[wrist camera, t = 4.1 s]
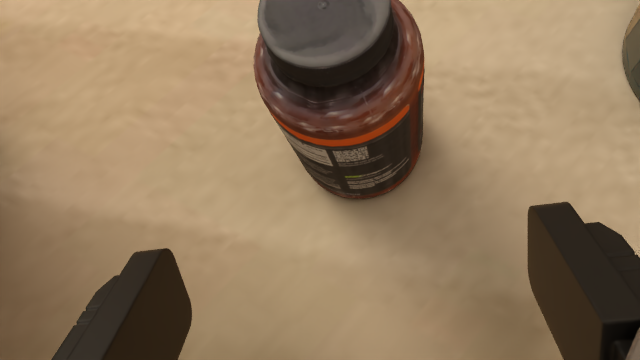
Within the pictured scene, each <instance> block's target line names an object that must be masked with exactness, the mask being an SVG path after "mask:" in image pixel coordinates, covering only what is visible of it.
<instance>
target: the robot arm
mask: <svg viewBox="0 0 640 360" xmlns="http://www.w3.org/2000/svg"><path fill="white" fill-rule="evenodd" d="M528 274H529V280H530V285H531V288H532V291H533V294H534V296H535V299H536V301H537V303H538V305H539V307H540V309H541V312H542V314H543V316H544V318H545V320H546V322H547V324H548V327H549V329H550V331H551V333H552V335H553V337H554V340H555V342H556V344H557V346H558V348H559V350H560V352H561V355H562V357H563V359H564V360H640V258H639V257H638V255H635V253H634V250H633V249H632V248H631V247H630V245H629V244H628V243H627V242H626V241H625V239H624V238H623V237H622V236H621V235H620V234H618V233H617V232H615V231H613V230H612V229H610V228H608V227H606V226H605V225H603V224H601V223H599V222H595V223H586V224H584V222H583V221H582V219H581V218H580V217H579V215H578V214H577V213H576V211H575V210H574V208H573V207H572V206H571V204H570V203H568V202H561V203H552V204H544V205H535V206H530V207H529V210H528ZM191 320H192V308H191V302H190V299H189V296H188V293H187V290H186V288H185V285H184V282H183V279H182V277H181V274H180V271H179V268H178V266H177V263H176V260H175V257H174V255H173V253H172V252H171V250H169V249H167V248H165V249H157V250H148V251H140V252H135V253H134V254H133V255H132V256H131V258H130V259H129V261H128V263H127V264H126V266H125V267H124V269H123V270H122V272H121V274H120V275H117V276H114V277H113V278H112V279H110V280H109V281H108V282H107V283H106V284H105V285H103V286H102V287H101V288H100V289H99V290H98V291H97V292H96V293H95V295H94V296H93V298H92V299H91V301H90V302H89V304H88V305H87V307H86V311H83V313H82V314H81V316H80V317H79V319H78V320H77V325H74V326H73V328H72V329H71V331H70V332H69V334H68V335H67V337H66V338H65V340H64V341H63V343H62V344H61V346H60V347H59V349H58V350H57V352H56V353H55V355H54V356H53V358H52V359H51V360H178V357H179V355H180V352H181V350H182V347H183V344H184V342H185V339H186V337H187V334H188V332H189V329H190V326H191Z"/></svg>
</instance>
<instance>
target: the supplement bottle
mask: <svg viewBox="0 0 640 360" xmlns="http://www.w3.org/2000/svg"><path fill="white" fill-rule="evenodd" d="M258 26H259V30H260V34H259V37H258V41H257V44H256V48H255V55H254V72H255V80H256V83H257V87H258V89H259V92H260V95H261V97H262V99H263V101H264V103H265V105H266V106H267V108H268V109H269V111H270V113H271V115H272V116H273V118H274V119H275V121H276V123H277V124H278V126H279V127H280V129H281V130H282V132H283V133H284V135H285V137H286V138H287V140H288V142H289V143H290V144H291V146H292V148H293V150H294V151H295V153H296V154H297V156H298V157H299V159H300V161H301V162H302V164H303V166H304V167H305V169H306V170H307V172H308V173H309V174H310V175H311V176H312V177H313V179H314V180H315V181H316V182H317V183H318V184H319V185H320V186H322V187H323V188H325V189H326V190H328V191H330V192H332V193H334V194H336V195H339V196H342V197H346V198H369V197H374V196H377V195H381V194H383V193H386V192H388V191H389V190H392V189H393V188H395V187H396V186H397V185H399V184H400V183H401V182H402V181H403V180H404V179H405V178H406V177H407V176H408V175H409V173H410V172H411V170H412V169H413V167H414V166H415V164H416V161H417V159H418V157H419V154H420V150H421V145H422V135H423V131H422V130H423V90H424V50H423V44H422V39H421V34H420V31H419V29H418V26H417V24H416V22H415V20H414V18H413V16H412V14H411V13H410V12H409V11H408V9H407V8H406V7H405V5H403V4H402V3H401V2H400V1H399V0H260V3H259V7H258Z"/></svg>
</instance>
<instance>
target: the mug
mask: <svg viewBox="0 0 640 360" xmlns="http://www.w3.org/2000/svg"><path fill="white" fill-rule="evenodd" d="M622 52H623V64H624V69H625V73H626V76H627V79H628V81H629V84H630V86H631V87H632V89H633V91H634V93H635V95H636V96H637V97H638V99H639V100H640V4H639V6H638V7H637V9H636V11H635V14H634V17H633V18H632V20H631V21H630V24H629V26H628V28H627V30H626V34H625V37H624V41H623V51H622Z"/></svg>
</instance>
